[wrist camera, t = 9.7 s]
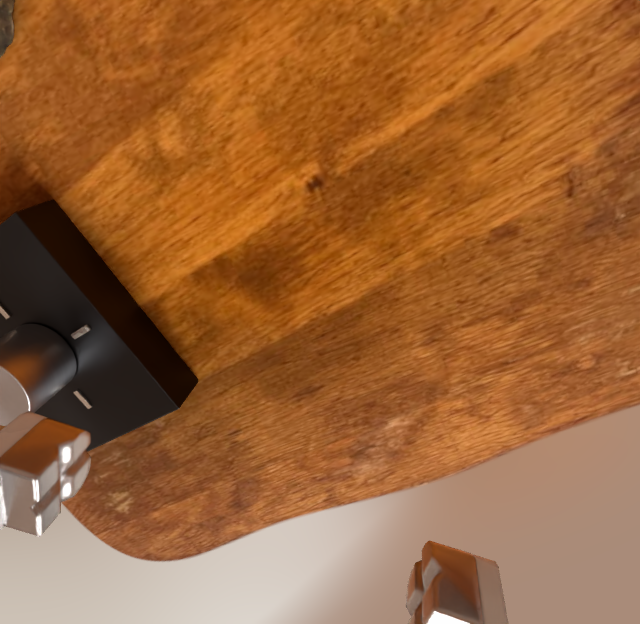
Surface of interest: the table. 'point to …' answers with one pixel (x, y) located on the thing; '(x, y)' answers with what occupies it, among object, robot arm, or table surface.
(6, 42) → the decorative stone
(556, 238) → the table surface
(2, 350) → the dial
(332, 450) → the table surface
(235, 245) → the table surface
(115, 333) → the panel
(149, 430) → the table surface
